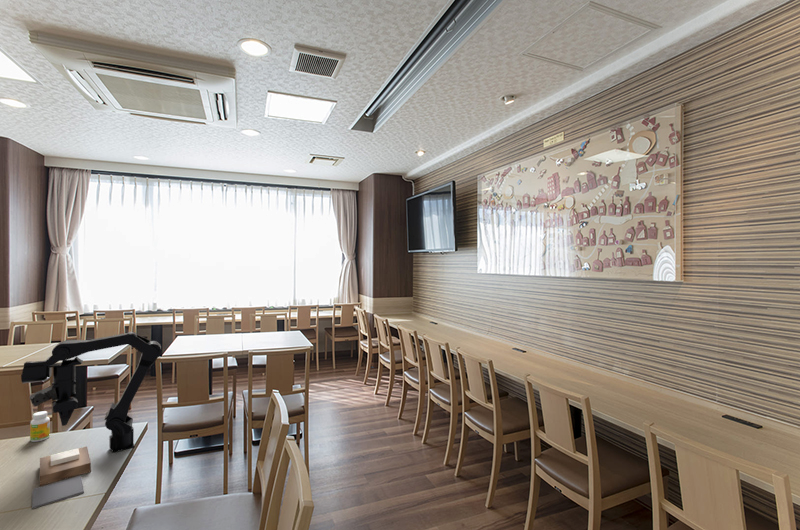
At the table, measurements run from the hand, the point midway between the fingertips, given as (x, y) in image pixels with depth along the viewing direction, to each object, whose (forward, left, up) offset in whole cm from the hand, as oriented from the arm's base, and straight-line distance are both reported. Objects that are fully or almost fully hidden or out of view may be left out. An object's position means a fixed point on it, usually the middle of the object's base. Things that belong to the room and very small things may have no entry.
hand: (64, 423), depth 131 cm
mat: (+2, +23, -12) cm, 26 cm away
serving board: (0, +9, -12) cm, 15 cm away
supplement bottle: (+6, -24, -12) cm, 28 cm away
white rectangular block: (0, +8, -9) cm, 12 cm away
